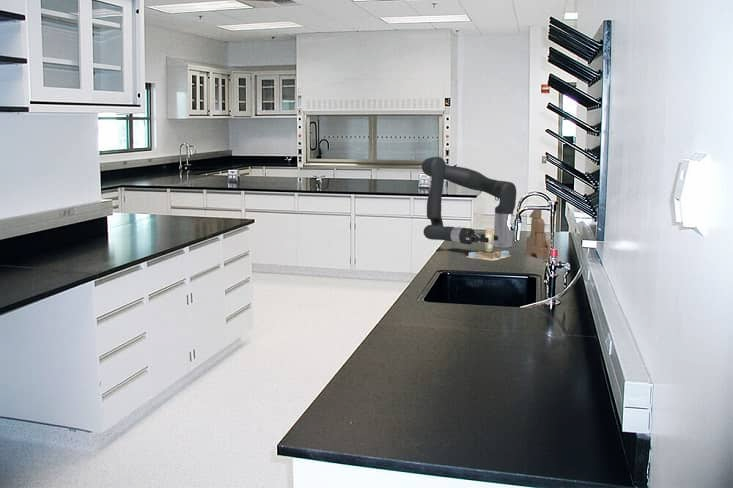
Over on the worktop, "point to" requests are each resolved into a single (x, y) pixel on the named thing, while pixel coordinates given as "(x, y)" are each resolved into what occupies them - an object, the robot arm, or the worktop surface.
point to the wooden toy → (537, 238)
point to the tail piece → (473, 254)
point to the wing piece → (504, 253)
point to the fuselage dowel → (489, 234)
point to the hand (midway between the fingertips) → (493, 239)
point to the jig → (489, 256)
